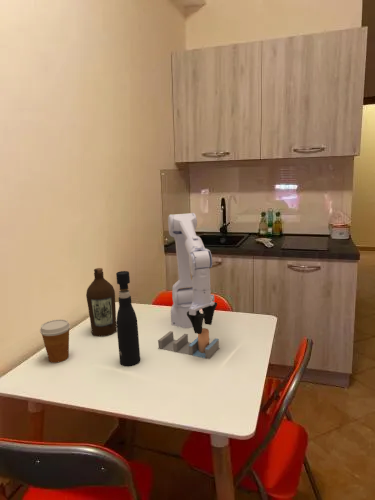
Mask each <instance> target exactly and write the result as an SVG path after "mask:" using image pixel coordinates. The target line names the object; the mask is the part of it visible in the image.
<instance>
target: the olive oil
mask: <svg viewBox="0 0 375 500" xmlns="http://www.w3.org/2000/svg"><path fill="white" fill-rule="evenodd" d="M93 271H94V273H93V276H94V279H93V281H92V282H91V283H90V284H89V286H88V287H87V289H86V296H85V297H86V303H87V308H88V314H89V321H90V329H91V333H92V335H93V336H95V337H107V336H111V335H113V334H115V333H117V324H116V322H117V311H116V291H115V288H114V286H113V284H111V283H110V282H109V281H108V280H107V279H105V278H104V277H105V276H104V270H103V267H97V268H94V269H93Z"/></svg>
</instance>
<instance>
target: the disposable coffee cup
mask: <svg viewBox="0 0 375 500" xmlns="http://www.w3.org/2000/svg"><path fill="white" fill-rule="evenodd" d="M70 328H71V324H70V323H69V321H68V320H66V319H52V320H49V321H46V322H44V323H42V324H41V326H40V328H39V332H40V334H41V336H42V340H43V342H44V347H45V351H46V355H47V358H48V361H49V362H50V363H55V364H57V363H60V362H64V361H66V360H68V359H69V357H70V353H69V352H70V351H69V350H70V348H69V347H70Z"/></svg>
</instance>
